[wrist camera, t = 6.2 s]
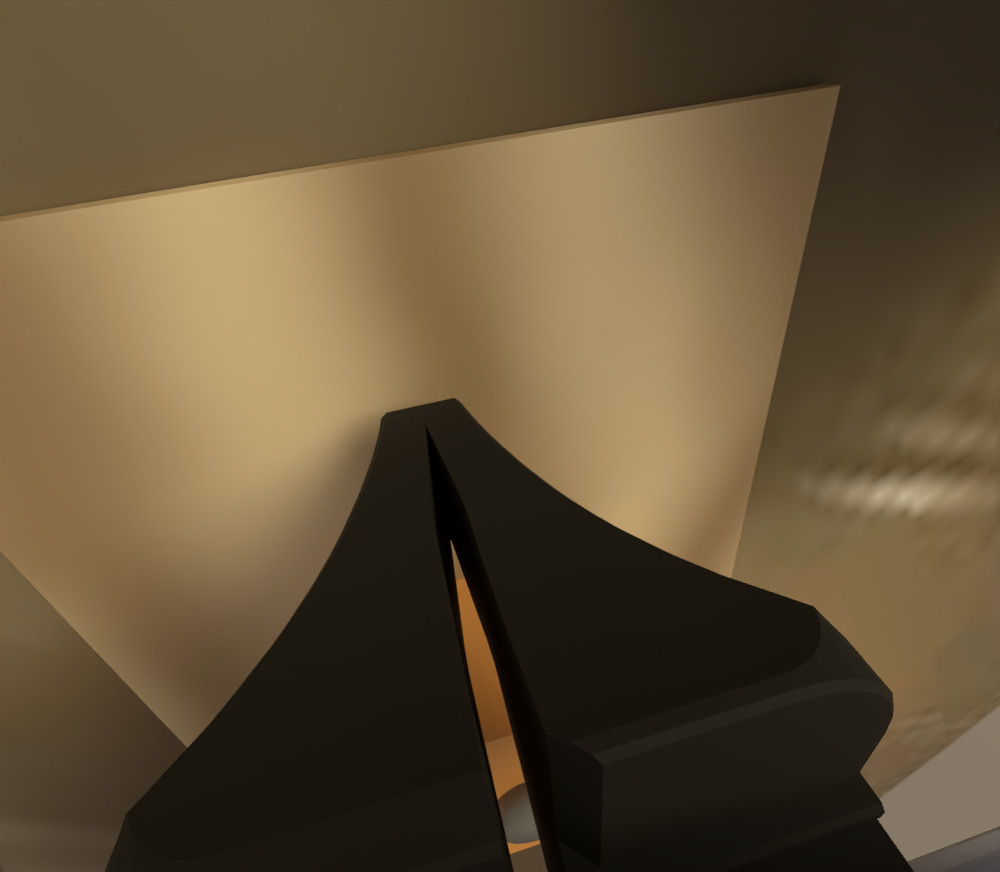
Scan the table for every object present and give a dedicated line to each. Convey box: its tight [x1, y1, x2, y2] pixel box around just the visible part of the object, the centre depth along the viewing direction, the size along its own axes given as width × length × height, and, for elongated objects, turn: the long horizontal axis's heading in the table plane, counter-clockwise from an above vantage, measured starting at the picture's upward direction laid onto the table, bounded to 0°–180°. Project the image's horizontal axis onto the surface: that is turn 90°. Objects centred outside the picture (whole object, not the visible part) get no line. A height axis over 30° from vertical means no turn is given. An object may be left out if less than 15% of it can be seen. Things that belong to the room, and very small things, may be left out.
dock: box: [0, 84, 841, 872], centre depth 12 cm, size 16×19×5 cm
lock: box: [456, 578, 540, 854], centre depth 14 cm, size 6×6×5 cm
